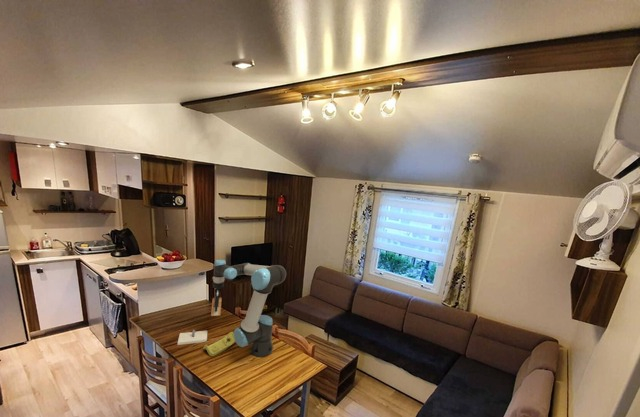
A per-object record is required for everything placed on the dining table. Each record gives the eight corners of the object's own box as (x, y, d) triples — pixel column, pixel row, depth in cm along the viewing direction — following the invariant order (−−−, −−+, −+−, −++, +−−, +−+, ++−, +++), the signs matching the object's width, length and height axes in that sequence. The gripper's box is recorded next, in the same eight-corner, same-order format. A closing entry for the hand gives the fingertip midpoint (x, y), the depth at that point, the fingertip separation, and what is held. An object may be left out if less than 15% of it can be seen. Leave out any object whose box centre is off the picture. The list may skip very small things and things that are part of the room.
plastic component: (212, 355, 163) (204, 342, 168) (209, 362, 166) (202, 349, 171) (238, 340, 179) (231, 329, 184) (236, 347, 182) (228, 336, 186)
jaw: (220, 315, 184) (221, 301, 184) (211, 315, 182) (212, 302, 181) (220, 310, 191) (221, 297, 190) (211, 311, 189) (212, 297, 188)
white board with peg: (206, 341, 180) (207, 332, 180) (177, 344, 173) (178, 335, 173) (207, 332, 191) (207, 324, 191) (179, 335, 184) (180, 326, 184)
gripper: (213, 276, 193) (211, 306, 194) (212, 287, 174) (209, 319, 176) (224, 276, 196) (221, 306, 197) (224, 286, 177) (221, 319, 178)
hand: (215, 312), depth 186 cm, fingers closed on jaw, 7 cm apart
